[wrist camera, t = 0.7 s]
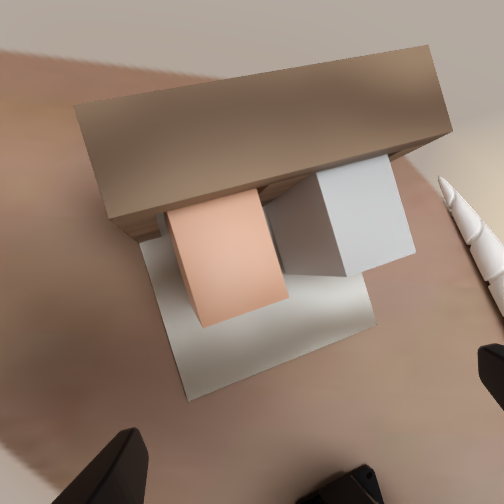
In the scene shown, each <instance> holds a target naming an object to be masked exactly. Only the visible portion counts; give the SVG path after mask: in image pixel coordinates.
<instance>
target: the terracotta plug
mask: <svg viewBox="0 0 504 504" xmlns="http://www.w3.org/2000/svg"><path fill="white" fill-rule="evenodd" d="M164 219H165V223H166V226H167V229H168V233H169V236H170V239H171V242H172V245H173V249H174V252H175V255H176V258H177V262H178V265H179V268H180V271H181V275H182V278H183V281H184V284H185V288H186V291H187V294H188V297H189V301H190V304H191V307H192V309H193V311H194V312H195V314H196V316H197V318H198V320H199V322H200V324H201V326H202V328H205V327H208V326H211V325H214V324H217V323H219V322H222V321H225V320H228V319H231V318H234V317H236V316H239V315H242V314H245V313H248V312H250V311H253V310H256V309H259V308H262V307H265V306H267V305H270V304H273V303H276V302H279V301H281V300H284V299H287V298H289V295H288V291H287V288H286V285H285V282H284V278H283V275H282V272H281V268H280V265H279V262H278V258H277V255H276V252H275V248H274V245H273V242H272V238H271V235H270V232H269V229H268V225H267V222H266V219H265V215H264V212H263V209H262V205H261V202H260V199H259V195H258V192H257V189H256V188H255V189H251V190H247V191H243V192H239V193H235V194H232V195H228V196H224V197H220V198H216V199H212V200H208V201H205V202H201V203H197V204H193V205H189V206H185V207H181V208H178V209H174V210H170V211H166V212H164Z"/></svg>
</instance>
